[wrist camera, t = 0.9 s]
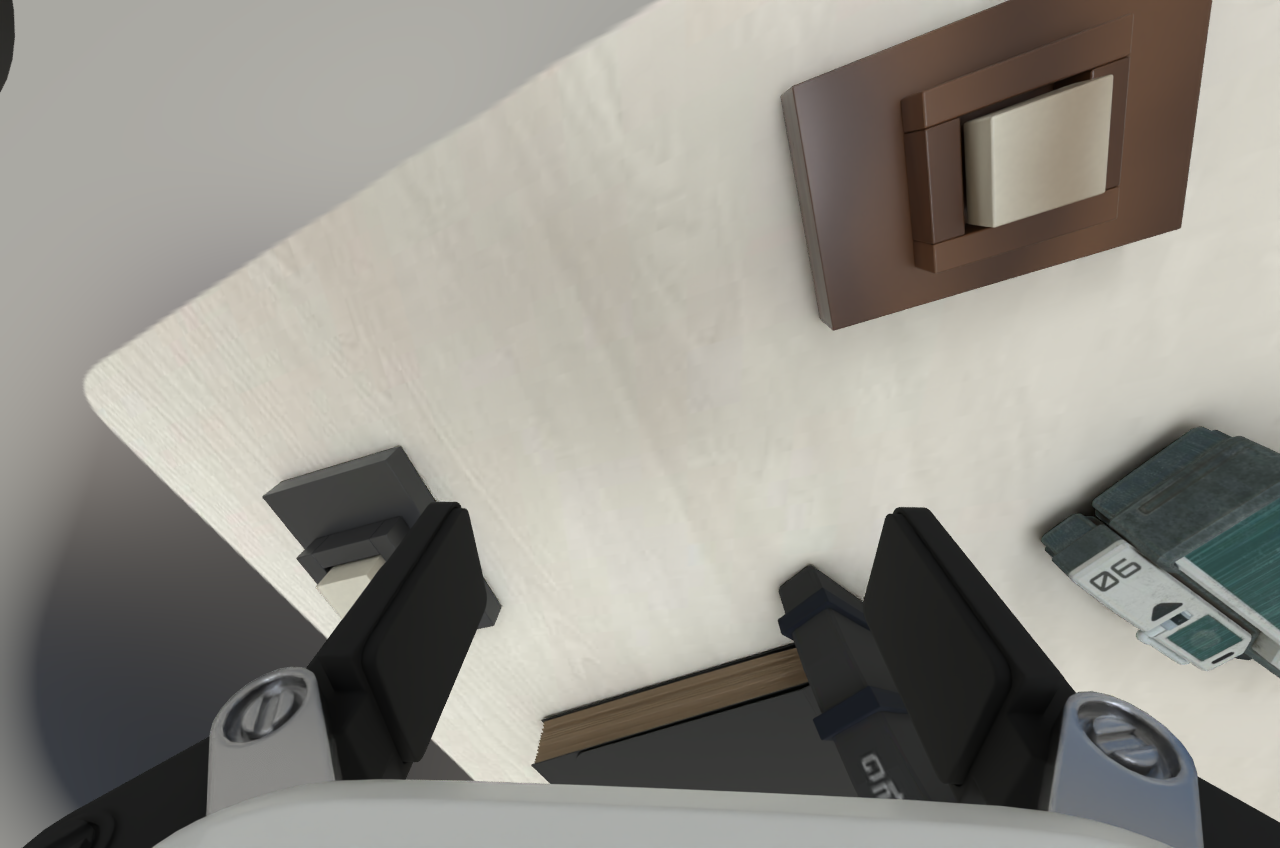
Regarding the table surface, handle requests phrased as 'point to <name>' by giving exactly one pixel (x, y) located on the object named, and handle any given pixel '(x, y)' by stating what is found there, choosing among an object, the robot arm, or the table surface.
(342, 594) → the far key
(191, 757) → the robot arm
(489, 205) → the table surface
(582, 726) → the file folder
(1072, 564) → the communication device
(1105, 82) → the beige switch key
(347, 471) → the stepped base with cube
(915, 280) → the brown switch frame
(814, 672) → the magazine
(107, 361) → the table surface
